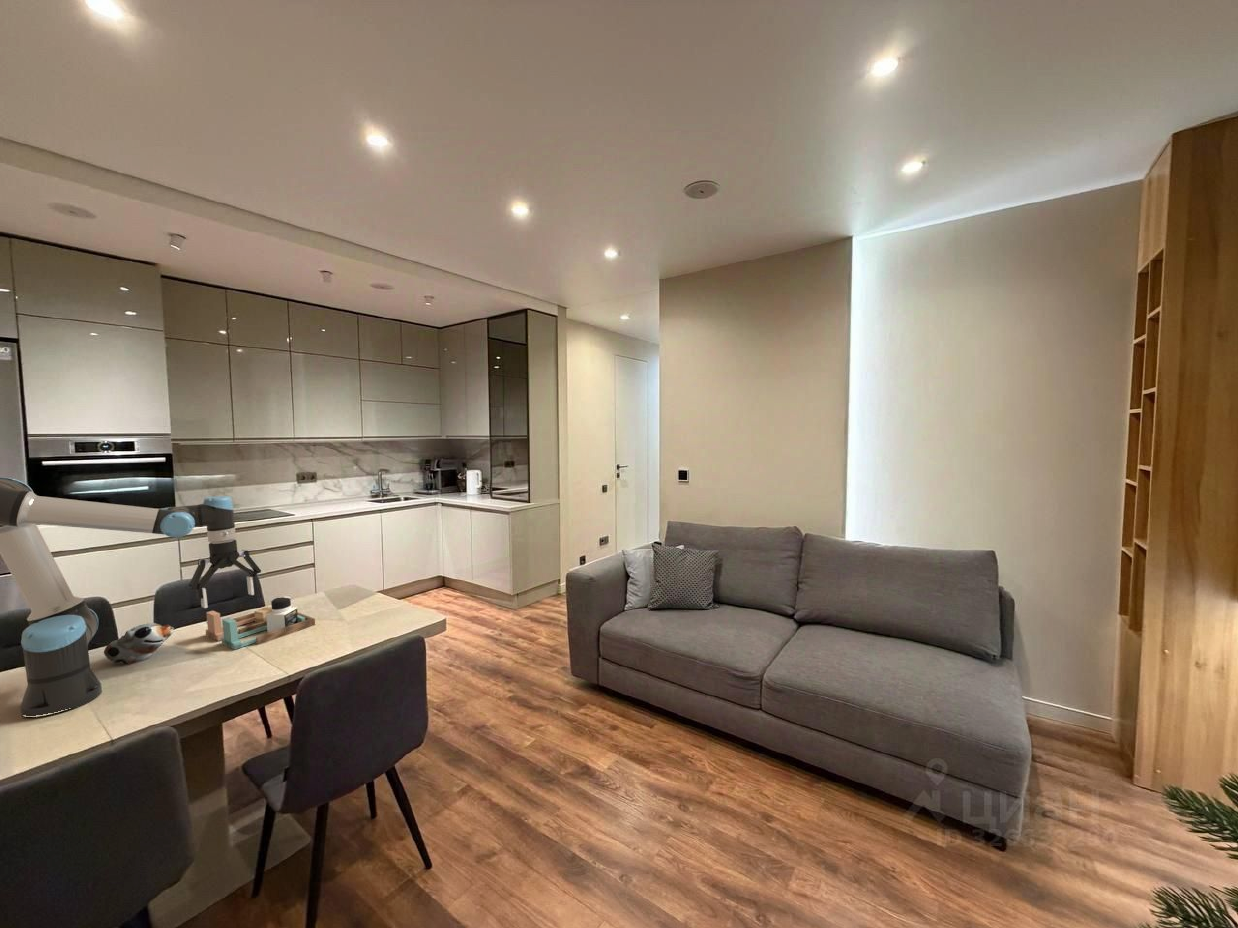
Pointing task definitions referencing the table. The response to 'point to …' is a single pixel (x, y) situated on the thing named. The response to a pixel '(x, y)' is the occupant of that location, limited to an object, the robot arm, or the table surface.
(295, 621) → the medicine bottle
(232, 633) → the frame
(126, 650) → the lucky cat figurine
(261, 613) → the oak cube
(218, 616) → the sled
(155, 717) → the table surface
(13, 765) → the table surface
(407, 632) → the table surface
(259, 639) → the lane rails
